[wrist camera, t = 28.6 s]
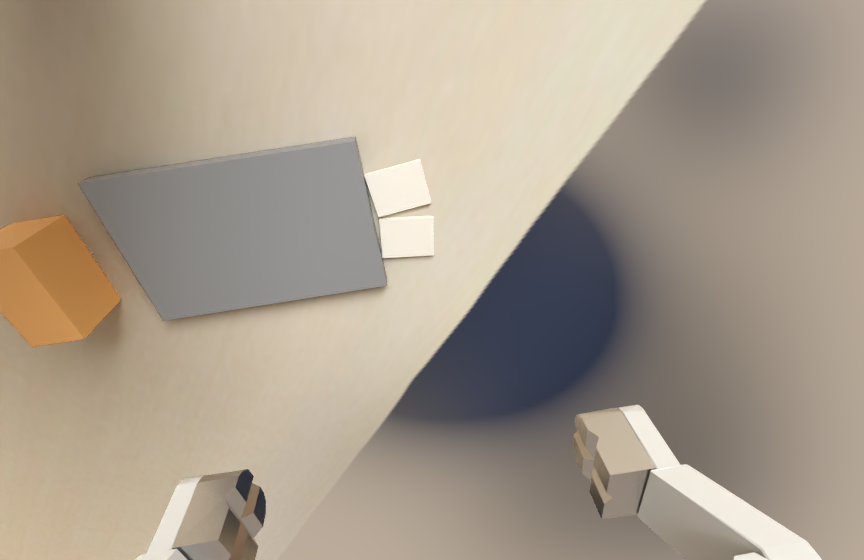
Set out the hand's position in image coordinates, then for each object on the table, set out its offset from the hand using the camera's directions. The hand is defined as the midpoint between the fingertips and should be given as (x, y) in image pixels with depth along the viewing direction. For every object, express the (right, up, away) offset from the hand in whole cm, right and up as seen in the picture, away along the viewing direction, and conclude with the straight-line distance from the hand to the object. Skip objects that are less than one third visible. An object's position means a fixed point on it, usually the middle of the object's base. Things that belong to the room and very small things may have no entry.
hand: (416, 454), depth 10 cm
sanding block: (-33, +6, +27) cm, 43 cm away
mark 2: (-2, +9, +30) cm, 31 cm away
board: (-16, +9, +27) cm, 33 cm away
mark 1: (-3, +13, +27) cm, 30 cm away
